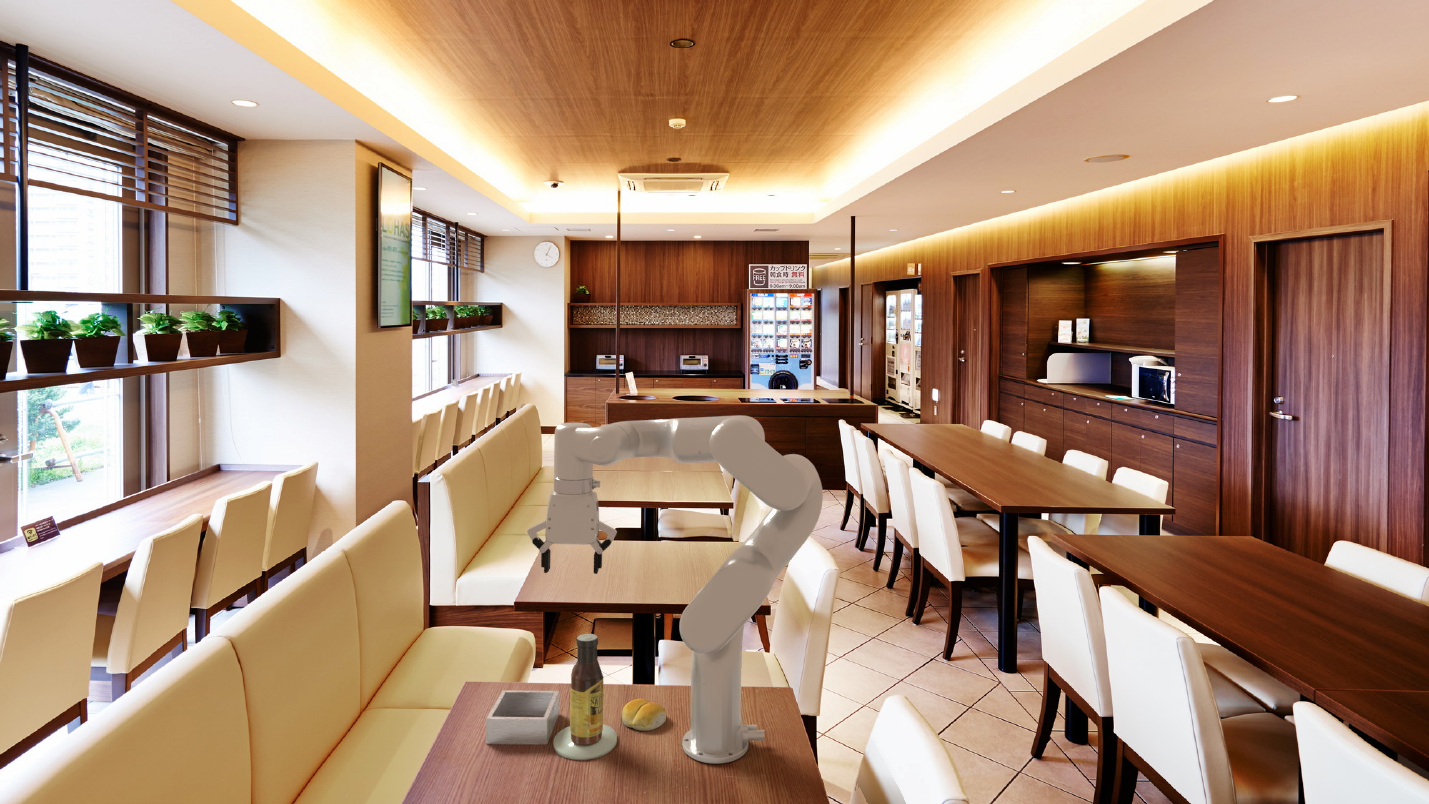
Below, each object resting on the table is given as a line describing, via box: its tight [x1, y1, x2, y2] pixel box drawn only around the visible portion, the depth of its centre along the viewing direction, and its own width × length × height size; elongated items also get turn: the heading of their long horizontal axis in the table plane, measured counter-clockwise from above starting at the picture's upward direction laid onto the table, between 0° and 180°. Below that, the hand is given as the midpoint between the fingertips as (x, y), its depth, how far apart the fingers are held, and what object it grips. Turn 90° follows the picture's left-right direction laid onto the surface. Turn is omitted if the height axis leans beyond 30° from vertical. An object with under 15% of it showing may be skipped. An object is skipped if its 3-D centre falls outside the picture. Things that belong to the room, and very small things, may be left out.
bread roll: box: [621, 698, 667, 732], centre depth 150 cm, size 8×9×4 cm
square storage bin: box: [485, 689, 560, 745], centre depth 147 cm, size 12×12×5 cm
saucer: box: [553, 723, 618, 761], centre depth 142 cm, size 12×12×1 cm
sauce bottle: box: [569, 633, 604, 746], centre depth 141 cm, size 6×6×20 cm
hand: (571, 571), depth 146 cm, fingers open, 9 cm apart
